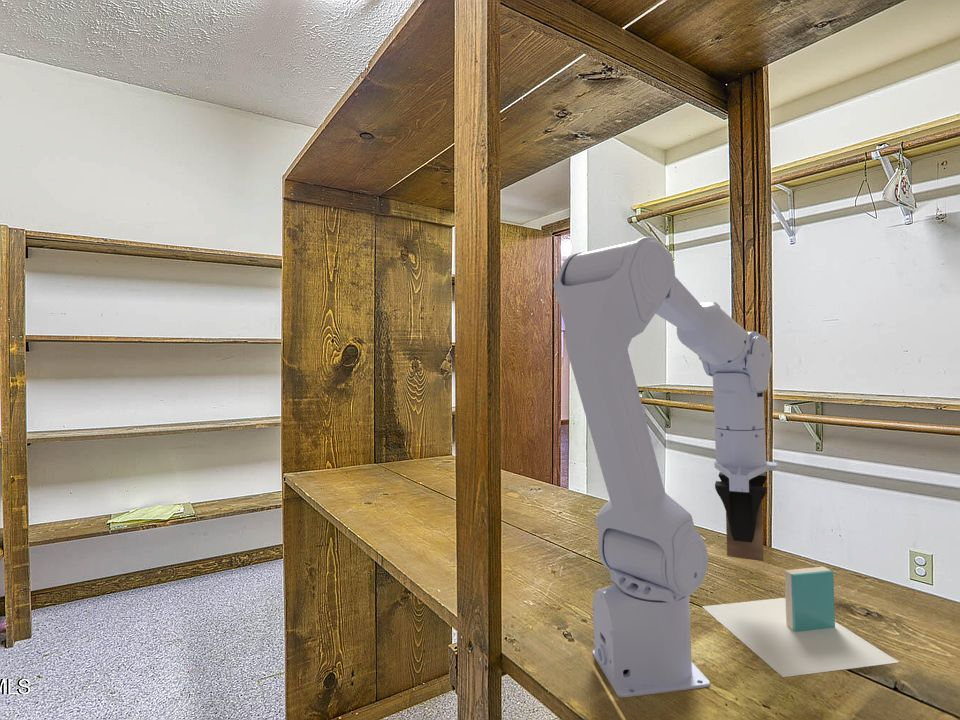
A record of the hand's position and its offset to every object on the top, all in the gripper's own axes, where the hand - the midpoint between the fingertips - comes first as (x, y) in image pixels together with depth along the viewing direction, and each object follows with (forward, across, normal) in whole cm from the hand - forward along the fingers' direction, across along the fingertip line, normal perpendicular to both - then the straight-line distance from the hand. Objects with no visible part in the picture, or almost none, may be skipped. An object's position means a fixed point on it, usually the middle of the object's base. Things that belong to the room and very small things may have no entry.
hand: (743, 534), depth 67 cm
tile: (+9, -2, -7) cm, 12 cm away
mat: (+10, -5, -5) cm, 12 cm away
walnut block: (+2, 0, 0) cm, 2 cm away
